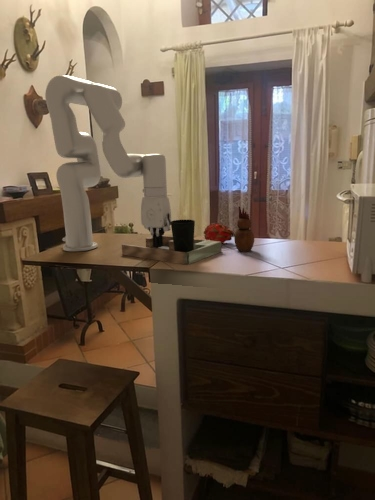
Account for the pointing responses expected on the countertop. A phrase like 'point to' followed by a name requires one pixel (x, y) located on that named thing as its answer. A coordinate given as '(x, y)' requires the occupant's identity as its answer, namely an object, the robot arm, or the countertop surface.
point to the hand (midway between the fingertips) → (157, 246)
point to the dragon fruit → (218, 233)
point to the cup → (183, 235)
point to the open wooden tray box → (169, 254)
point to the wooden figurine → (244, 233)
